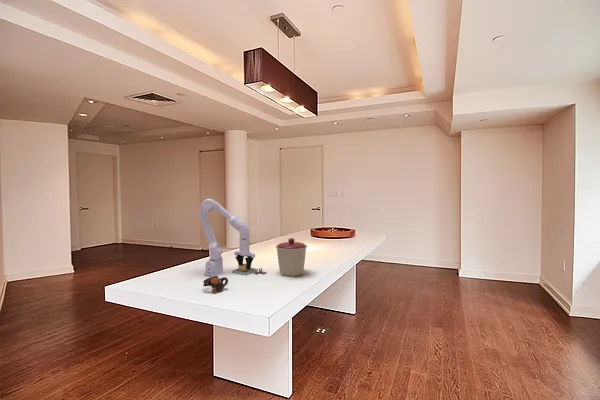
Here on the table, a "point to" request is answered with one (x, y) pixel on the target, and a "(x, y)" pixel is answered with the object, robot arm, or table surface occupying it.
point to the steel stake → (260, 272)
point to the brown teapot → (216, 283)
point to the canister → (291, 257)
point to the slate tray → (244, 272)
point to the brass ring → (243, 268)
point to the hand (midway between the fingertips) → (244, 268)
